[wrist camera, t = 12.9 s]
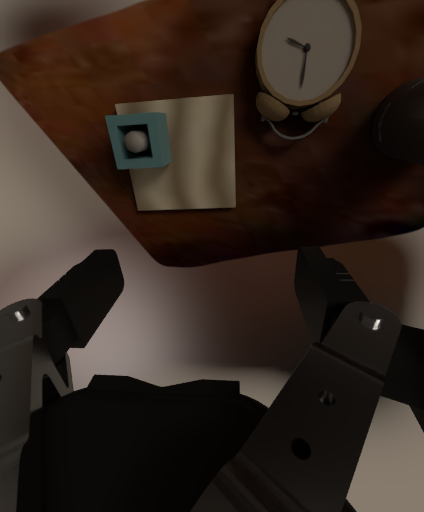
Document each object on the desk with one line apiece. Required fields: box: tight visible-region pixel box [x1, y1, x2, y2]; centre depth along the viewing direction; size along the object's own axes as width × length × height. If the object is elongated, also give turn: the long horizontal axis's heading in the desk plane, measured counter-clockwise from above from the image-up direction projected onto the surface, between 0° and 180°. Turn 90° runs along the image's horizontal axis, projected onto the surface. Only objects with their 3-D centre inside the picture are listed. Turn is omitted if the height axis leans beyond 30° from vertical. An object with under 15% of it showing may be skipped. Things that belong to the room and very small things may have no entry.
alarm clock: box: [255, 0, 362, 140], centre depth 30 cm, size 11×5×15 cm
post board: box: [115, 94, 236, 211], centre depth 34 cm, size 16×15×8 cm
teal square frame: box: [105, 112, 172, 169], centre depth 32 cm, size 6×6×5 cm
